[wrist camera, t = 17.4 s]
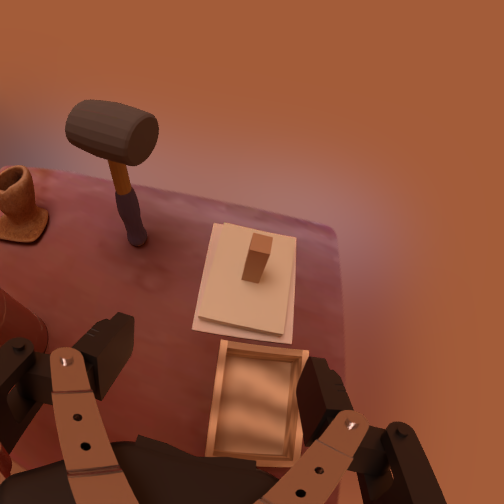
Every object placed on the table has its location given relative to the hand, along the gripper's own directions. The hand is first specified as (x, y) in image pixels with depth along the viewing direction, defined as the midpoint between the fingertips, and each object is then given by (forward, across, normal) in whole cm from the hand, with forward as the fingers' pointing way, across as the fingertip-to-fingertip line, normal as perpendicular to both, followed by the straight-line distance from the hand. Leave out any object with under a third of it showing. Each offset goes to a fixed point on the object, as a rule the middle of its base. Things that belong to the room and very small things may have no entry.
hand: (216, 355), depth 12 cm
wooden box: (+23, -7, +25) cm, 35 cm away
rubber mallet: (+41, +20, +8) cm, 46 cm away
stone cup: (+39, +50, +10) cm, 65 cm away
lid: (+38, -3, +9) cm, 39 cm away
